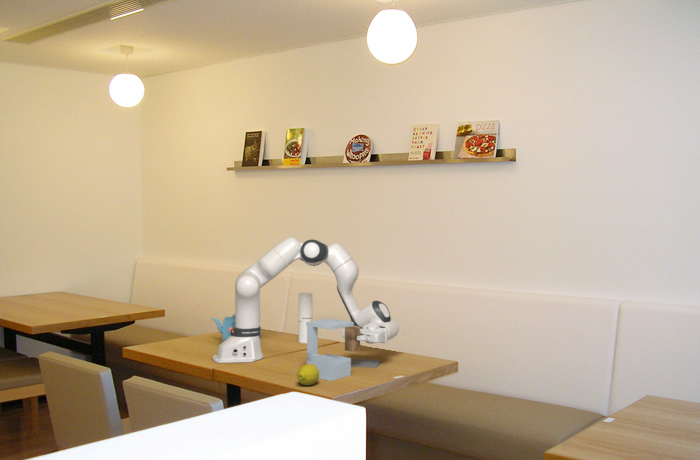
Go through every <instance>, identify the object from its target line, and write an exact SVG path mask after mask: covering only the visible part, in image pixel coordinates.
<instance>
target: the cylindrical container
mask: <svg viewBox="0 0 700 460" xmlns="http://www.w3.org/2000/svg"><path fill="white" fill-rule="evenodd" d="M310 321H313V292H299V293H298V325H297V326H298V334H297V335H298V336H297V337H298V340H297V341H298V343H299V342H300V344H307V326H306V322H310Z"/></svg>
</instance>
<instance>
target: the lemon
mask: <svg viewBox="0 0 700 460" xmlns="http://www.w3.org/2000/svg"><path fill="white" fill-rule="evenodd" d="M296 378H297V381H298V382H299V383H300V384H302V385H303V386H311V385H314V384H316V382H317V381H318V380H319V379H320V378H319V370H318V368H317V367H316V366H315V365H313V364H307V363H306V364H303V365H301V366H300V367H299V368H298V369H297V373H296Z"/></svg>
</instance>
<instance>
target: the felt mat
mask: <svg viewBox="0 0 700 460" xmlns="http://www.w3.org/2000/svg"><path fill="white" fill-rule="evenodd" d="M381 361H382V359H366V358H365V359H364V358H354V359H353V360H351V367H354V368H355V367H356V368H358V367H359V368H360V367H361V368H378V367H379V365H380V363H381Z"/></svg>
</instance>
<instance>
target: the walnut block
mask: <svg viewBox="0 0 700 460" xmlns="http://www.w3.org/2000/svg"><path fill="white" fill-rule="evenodd" d="M344 329H345V338H344V351H345V352H346V351H347V352H352V353H354V352H359V351H360V350H361V340H359V341H358V340H355V336H360V326H350V327H344Z"/></svg>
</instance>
